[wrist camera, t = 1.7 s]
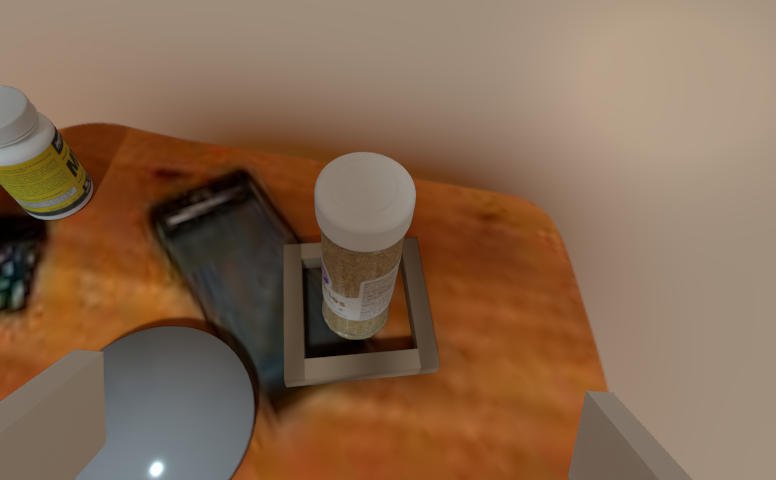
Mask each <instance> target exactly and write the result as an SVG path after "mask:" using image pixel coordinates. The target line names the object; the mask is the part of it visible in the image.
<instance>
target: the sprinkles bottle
mask: <svg viewBox="0 0 776 480" xmlns="http://www.w3.org/2000/svg"><path fill="white" fill-rule="evenodd" d="M314 199H315V214H316V219H317V222H318V225H319V227H320V228H321V244H322V249H321V264H322V290H323V296H324V300H323V307H322V312H323V316H324V320H325V322H326V323H327V325H328V326H329V328H330V329H331V330H332V331H334V332H335V333H336V334H338V335H339V336H341V337H344V338H347V339H356V340H358V339H365V338H369V337H371V336H373V335H374V334H376V333H377V332H379V331H380V330H381V329H382V328H383V326H384V324H385V323H386V321H387V318H388V314H389V302H390V300H391V298H392V294H393V290H394V286H395V281H396V277H397V273H398V268H399V263H400V259H401V255H402V244H403V241H404V236H405V234H406V232H407V230H408V229H409V227H410V224H411V221H412V217H413V213H414V208H415V202H416V189H415V185H414V182H413V180H412V178H411V176H410V175H409V173H408V172H407V171H406V169H405V168H403V167H402V166H401V165H400V164H399V163H398V162H396V161H394V160H393V159H391V158H389V157H387V156H384V155H381V154H377V153H372V152H355V153H349V154H346V155H343V156H340V157H338V158H336V159H334V160H333V161H331V162H330V163H329V164H328V165H326V166H325V168H324V169H323V170H322V171H321V173H320V174H319V176H318V178H317V181H316V184H315V191H314Z"/></svg>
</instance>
